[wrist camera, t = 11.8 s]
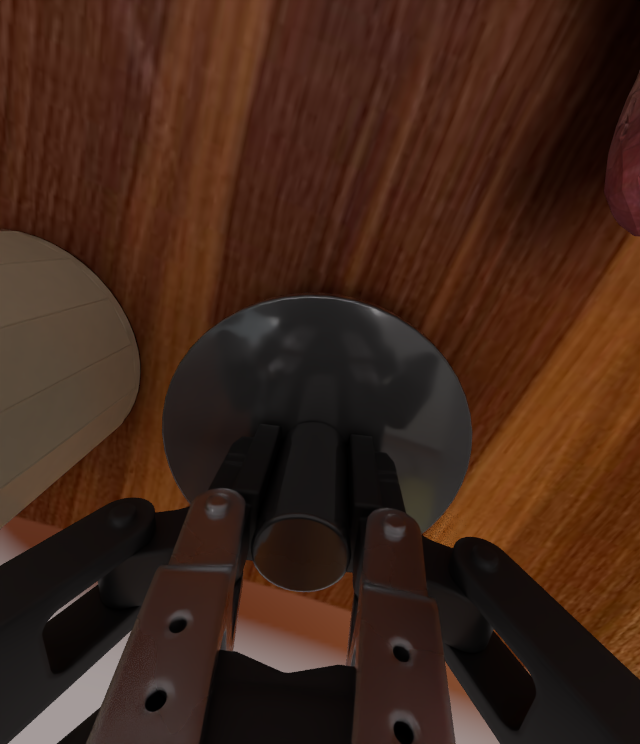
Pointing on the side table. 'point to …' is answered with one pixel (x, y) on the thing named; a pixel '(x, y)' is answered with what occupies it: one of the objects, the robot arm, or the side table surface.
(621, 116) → the bowl
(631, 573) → the side table surface
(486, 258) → the side table surface
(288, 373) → the lid
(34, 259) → the jar
